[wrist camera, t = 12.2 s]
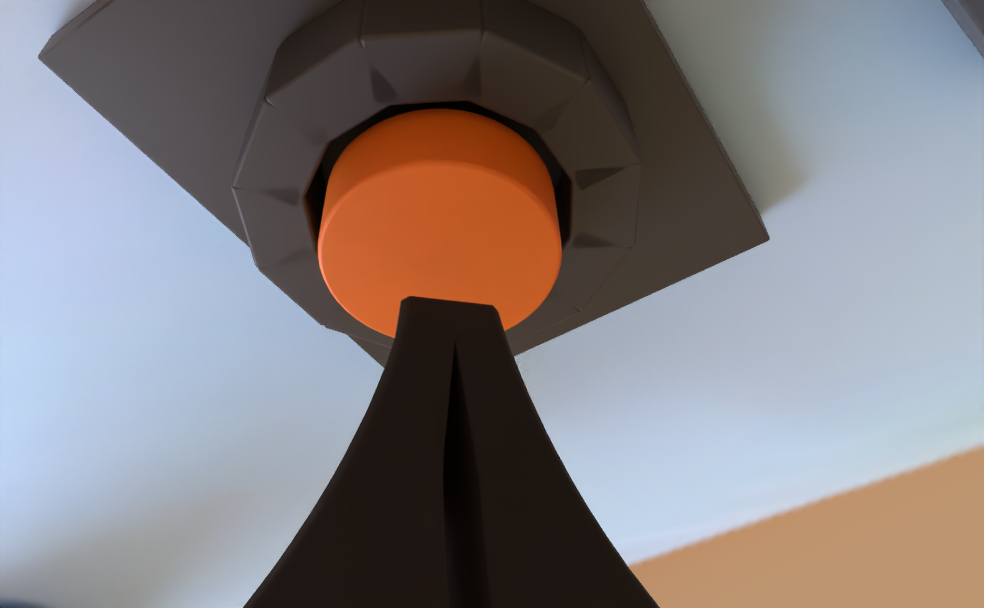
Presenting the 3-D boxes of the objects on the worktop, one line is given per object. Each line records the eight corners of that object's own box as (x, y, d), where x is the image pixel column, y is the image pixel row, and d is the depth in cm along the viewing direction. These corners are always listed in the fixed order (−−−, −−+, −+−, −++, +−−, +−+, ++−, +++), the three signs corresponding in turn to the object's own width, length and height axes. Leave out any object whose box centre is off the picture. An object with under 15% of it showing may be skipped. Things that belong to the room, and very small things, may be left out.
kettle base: (51, 35, 15) (-4, 115, 13) (481, -299, 12) (486, -255, 10) (419, 375, 22) (417, 461, 20) (761, 216, 19) (795, 300, 17)
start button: (278, 180, 15) (264, 238, 14) (473, 62, 14) (475, 116, 12) (416, 316, 17) (413, 375, 16) (594, 228, 16) (605, 285, 15)
